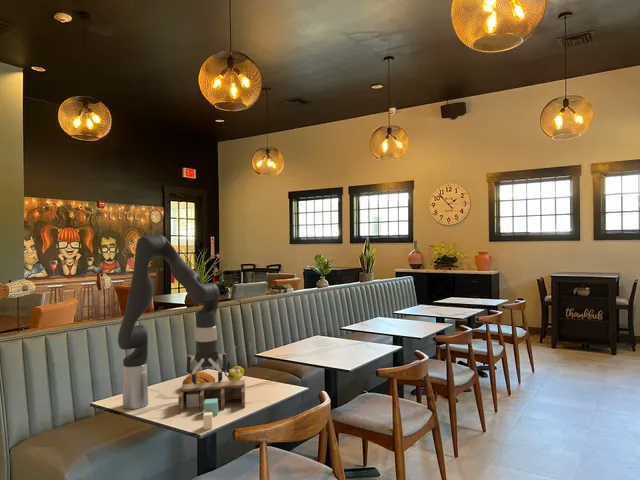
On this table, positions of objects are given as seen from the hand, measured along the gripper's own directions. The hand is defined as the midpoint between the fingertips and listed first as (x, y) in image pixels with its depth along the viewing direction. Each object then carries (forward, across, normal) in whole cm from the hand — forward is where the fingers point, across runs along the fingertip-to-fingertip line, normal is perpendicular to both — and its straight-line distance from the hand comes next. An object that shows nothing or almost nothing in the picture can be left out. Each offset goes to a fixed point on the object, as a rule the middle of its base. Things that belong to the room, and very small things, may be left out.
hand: (207, 383), depth 170 cm
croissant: (+17, -8, +49) cm, 53 cm away
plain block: (+17, -8, +26) cm, 32 cm away
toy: (+17, +8, +41) cm, 45 cm away
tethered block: (+16, 0, +7) cm, 18 cm away
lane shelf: (+16, 0, +23) cm, 28 cm away
